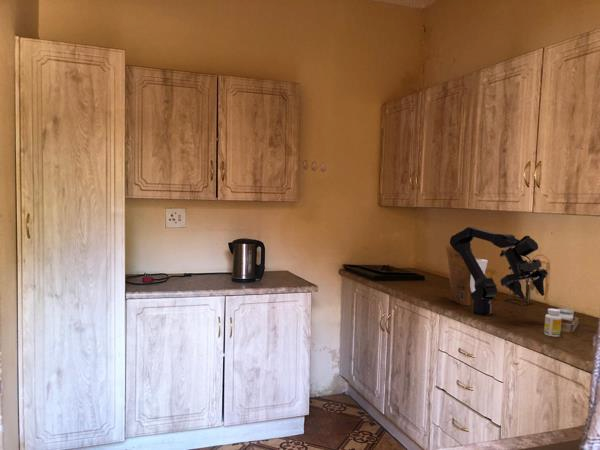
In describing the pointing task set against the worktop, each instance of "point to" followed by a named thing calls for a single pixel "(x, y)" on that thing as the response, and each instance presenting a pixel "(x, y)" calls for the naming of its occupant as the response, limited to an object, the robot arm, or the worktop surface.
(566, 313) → the jar
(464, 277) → the pancake mix bag
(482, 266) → the cup
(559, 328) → the supplement bottle
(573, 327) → the crate
